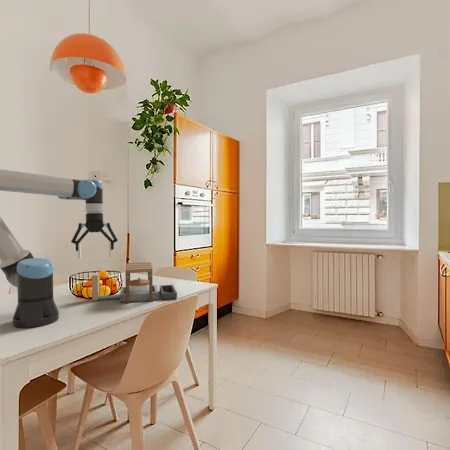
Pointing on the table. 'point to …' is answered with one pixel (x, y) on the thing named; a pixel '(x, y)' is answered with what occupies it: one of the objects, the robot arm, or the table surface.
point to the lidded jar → (139, 286)
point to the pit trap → (168, 292)
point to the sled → (122, 294)
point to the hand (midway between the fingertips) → (95, 257)
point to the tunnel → (136, 269)
